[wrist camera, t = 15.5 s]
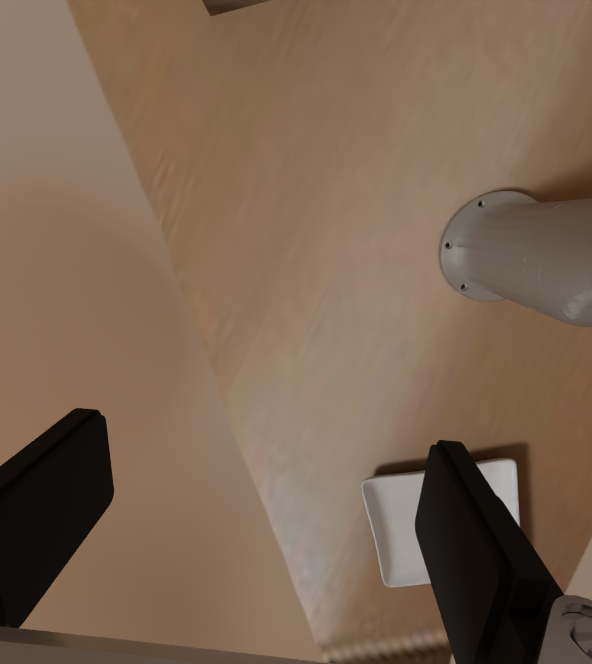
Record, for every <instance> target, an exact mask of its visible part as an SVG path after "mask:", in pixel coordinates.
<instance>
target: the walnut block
mask: <svg viewBox="0 0 592 664" xmlns="http://www.w3.org/2000/svg"><path fill="white" fill-rule="evenodd" d="M202 1H203V3H204V5H205V7H206V8H207V10H208V12H209V14H210V16H214V15H217V14H221V13H225V12H229V11H232V10H236V9H240V8H244V7H247V6H251V5H255V4H259V3H262V2H266V1H270V0H202Z"/></svg>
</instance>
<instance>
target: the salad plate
mask: <svg viewBox="0 0 592 664" xmlns="http://www.w3.org/2000/svg"><path fill="white" fill-rule="evenodd" d="M475 463H476V465H477V466H478V468H479V469H480V471H481V472H482V474H483V476H484V477H485V479H486V480H487V482H488V483H489V485H490V486H491V488H492V489H493V491H494V493H495V494H496V496H498V497H499V498H500V499H501V500H502V501H503V502H504V504H505V505H506V507H507V508H508V510H509V512H510V513H511V515H512V516H513V518H514V519H515V521H516V522H517V524H518V525H519V527H520V518H519V501H518V479H517V465H516V462H515V460H513V459H510V458H495V459H489V460H484V461H479V462H475ZM424 474H425V470H423V471H415V472H407V473H398V474H389V475H379V476H373V477H369V478H367V479H365V480H364V481H363V482H362V485H361V489H362V494H363V499H364V503H365V506H366V510H367V513H368V517H369V521H370V524H371V528H372V532H373V536H374V540H375V544H376V549H377V554H378V559H379V564H380V570H381V575H382V579H383V582H384V584H385V585H386V586H387V587H401V586H410V585H420V584H428V583H431V582H430V578H429V575H428V572H427V569H426V566H425V562H424V559H423V556H422V553H421V549H420V546H419V543H418V540H417V537H416V533H415V517H416V513H417V508H418V503H419V498H420V494H421V489H422V484H423V479H424Z"/></svg>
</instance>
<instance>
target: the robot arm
mask: <svg viewBox="0 0 592 664" xmlns="http://www.w3.org/2000/svg"><path fill="white" fill-rule="evenodd" d="M479 202H480V203H481V205H480V206H478V203H479ZM446 243H448V244H449V245H448V247H446V246H445V245H446ZM439 261H440V267H441V270H442V272H443V275H444V277H445V278H446V280H447V281H448V283H449V284H450V285H451V286H452V287H453V288H454V289H455V290H456V291H458V292H459V293H461V294H462V295H464V296H467V297H469V298H471V299H475V300H479V301H489V302H490V301H499V300H503V299H508V300H510V301H513V302H515V303H518V304H520V305H522V306H525V307H527V308H530V309H532V310H534V311H537V312H539V313H542V314H544V315H547V316H549V317H551V318H554V319H556V320H559V321H561V322H564V323H567V324H571V325H575V326H580V327H592V198H591V199H578V200H566V201H553V202H541V203H539V202H538V201H536V200H535V199H533V198H532V197H530V196H528V195H525V194H523V193H520V192H514V191H497V192H491V193H488V194H485V195H482V196H479V197H477V198H475V199H473V200H471V201H469V202H468V203H467V204H465V205H464V206H463V207H462V208H460V209H459V210H458V211H457V213H456V214H455V215H454V216H453V217H452V218H451V220H450V221H449V223H448V224H447V226H446V228H445V230H444V233H443V235H442V238H441V242H440V246H439ZM462 285H464V286H463V288H461V286H462ZM112 478H113V477H112V469H111V460H110V451H109V443H108V434H107V426H106V419H105V417H104V416H103V415H101V413H100V412H99V411H98V410H93V409H82V408H76V409H74V410H72V411H71V412H70V413H69V414H67V415H66V416H65V417H63V418H62V419H61V420H59V421H58V422H57V423H56V424H54V425H53V426H52V427H50V428H49V429H48V430H47V431H45V432H44V433H43V434H41V435H40V436H39V437H38V438H36V439H35V440H34V441H32V442H31V443H30V444H29V445H27V446H26V447H25V448H23V449H22V450H21V451H19V452H18V453H17V454H16V455H14V456H13V457H12V458H11V459H9V460H8V461H6V462H5V463H4V464H3V465H1V466H0V664H331V663H323V662H315V661H306V660H298V659H290V658H281V657H273V656H264V655H255V654H247V653H238V652H229V651H220V650H212V649H203V648H194V647H185V646H175V645H167V644H158V643H149V642H141V641H132V640H122V639H114V638H104V637H95V636H85V635H75V634H67V633H57V632H48V631H38V630H29V629H19V627H20V626H21V625H22V624H23V622H24V621H25V620H26V619H27V617H28V616H29V614H30V613H31V612H32V610H33V609H34V607H35V606H36V604H37V603H38V602H39V601H40V599H41V598H42V597H43V595H44V594H45V593H46V591H47V590H48V588H49V587H50V586H51V584H52V583H53V582H54V580H55V579H56V577H57V576H58V575H59V573H60V572H61V571H62V569H63V568H64V566H65V565H66V564H67V563H68V561H69V560H70V558H71V557H72V556H73V554H74V553H75V552H76V550H77V549H78V548H79V546H80V544H81V543H82V542H83V541H84V539H85V538H86V537H87V535H88V534H89V532H90V531H91V530H92V528H93V527H94V526H95V524H96V523H97V521H98V520H99V519H100V517H101V516H102V514H103V513H104V512H105V510H106V509H107V508H108V506H109V505H110V503H111V501H112V499H113V494H114V486H113V479H112ZM415 533H416V537H417V540H418V543H419V546H420V549H421V553H422V556H423V559H424V562H425V566H426V569H427V572H428V575H429V578H430V582H431V585H432V588H433V591H434V594H435V598H436V601H437V604H438V607H439V611H440V614H441V617H442V620H443V623H444V627H445V630H446V633H447V636H448V639H449V643H450V646H451V649H452V652H453V656H454V659H455V662H456V664H592V601H591V600H590V599H586V598H583V597H579V596H575V595H564V594H563V592H562V591H561V589H560V588H559V586H558V585H557V583H556V582H555V580H554V578H553V577H552V575H551V574H550V572H549V571H548V569H547V568H546V566H545V565H544V563H543V562H542V560H541V559H540V557H539V556H538V554H537V553H536V551H535V550H534V548H533V547H532V545H531V543H530V542H529V540H528V539H527V537H526V536H525V534H524V533H523V531H522V530H521V528H520V527H519V525H518V524H517V522H516V521H515V519H514V518H513V516H512V515H511V513H510V512H509V510H508V508H507V507H506V505H505V504H504V502H503V501H502V500H501V499H500V498H499V497H498V496H496V494H495V493H494V491H493V489H492V488H491V486H490V485H489V483H488V482H487V480H486V479H485V477H484V476H483V474H482V472H481V471H480V469H479V468H478V466H477V465H476V463H475V462H474V460H473V459H472V457H471V456H470V454H469V452H468V451H467V449H466V448H465V446H464V445H463V444H462V442H457V441H446V440H439V441H438V442H437V445H431V447H430V450H429V455H428V460H427V465H426V470H425V474H424V479H423V484H422V489H421V494H420V498H419V503H418V508H417V513H416V517H415Z"/></svg>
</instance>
